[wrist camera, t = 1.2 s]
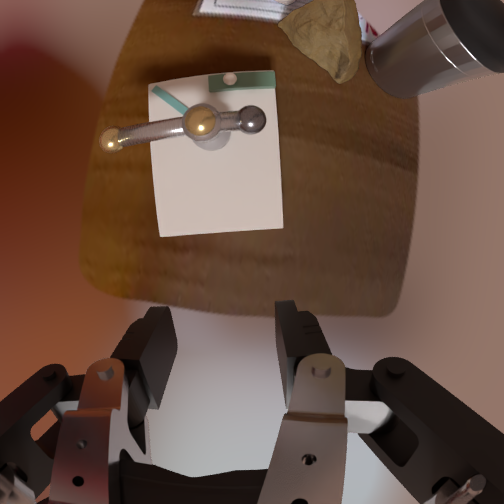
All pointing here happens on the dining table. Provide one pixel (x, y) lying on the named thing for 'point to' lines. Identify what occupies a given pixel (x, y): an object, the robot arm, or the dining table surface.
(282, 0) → the eye dropper bottle
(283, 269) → the dining table surface
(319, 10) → the rock
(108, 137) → the crank handle
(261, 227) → the stand
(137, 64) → the dining table surface
